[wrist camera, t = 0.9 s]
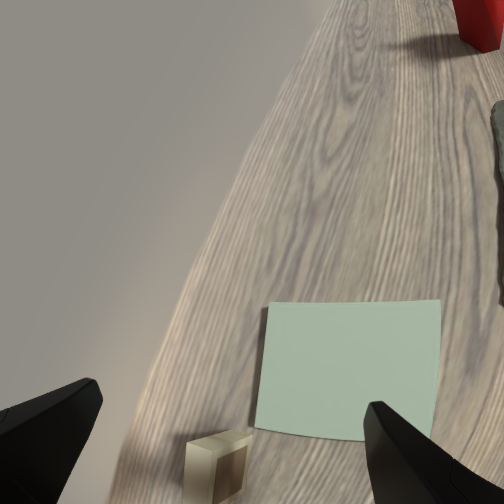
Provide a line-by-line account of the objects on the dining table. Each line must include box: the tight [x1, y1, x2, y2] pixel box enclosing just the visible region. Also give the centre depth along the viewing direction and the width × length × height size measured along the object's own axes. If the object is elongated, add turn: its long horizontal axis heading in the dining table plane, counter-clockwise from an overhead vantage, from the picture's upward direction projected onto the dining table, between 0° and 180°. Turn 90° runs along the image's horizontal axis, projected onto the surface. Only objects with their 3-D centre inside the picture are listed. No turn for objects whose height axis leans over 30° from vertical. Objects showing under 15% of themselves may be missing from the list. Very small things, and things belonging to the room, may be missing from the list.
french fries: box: [452, 0, 504, 53], centre depth 15 cm, size 9×8×15 cm
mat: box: [254, 299, 441, 441], centre depth 18 cm, size 10×13×1 cm
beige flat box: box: [182, 429, 252, 504], centre depth 17 cm, size 6×2×6 cm, turn 173°
